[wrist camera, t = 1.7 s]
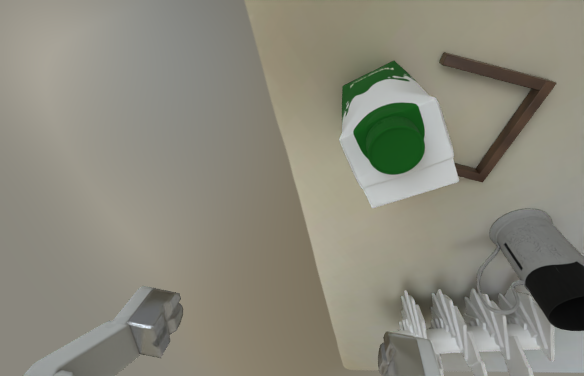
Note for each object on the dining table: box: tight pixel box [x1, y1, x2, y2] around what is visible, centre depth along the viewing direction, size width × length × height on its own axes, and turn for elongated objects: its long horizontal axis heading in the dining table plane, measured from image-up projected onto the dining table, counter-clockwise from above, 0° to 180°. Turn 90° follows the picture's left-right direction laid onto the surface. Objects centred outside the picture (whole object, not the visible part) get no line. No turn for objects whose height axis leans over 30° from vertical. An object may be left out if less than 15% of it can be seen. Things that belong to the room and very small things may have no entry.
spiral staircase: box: [388, 287, 554, 376], centre depth 51 cm, size 18×18×25 cm
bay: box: [439, 52, 556, 182], centre depth 37 cm, size 14×13×2 cm
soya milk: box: [339, 61, 459, 208], centre depth 29 cm, size 9×9×20 cm
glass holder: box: [476, 209, 584, 331], centre depth 41 cm, size 9×14×15 cm, turn 117°
